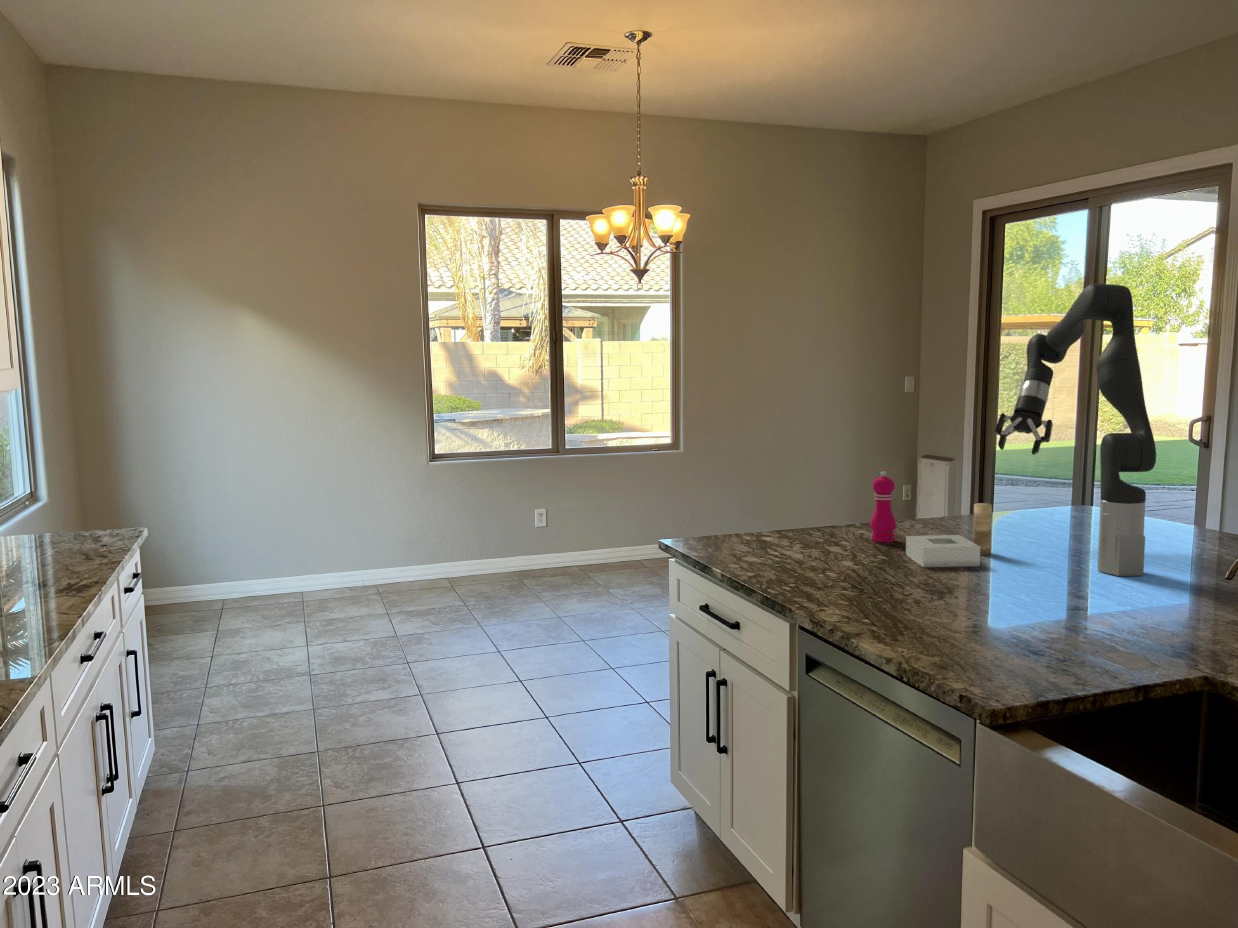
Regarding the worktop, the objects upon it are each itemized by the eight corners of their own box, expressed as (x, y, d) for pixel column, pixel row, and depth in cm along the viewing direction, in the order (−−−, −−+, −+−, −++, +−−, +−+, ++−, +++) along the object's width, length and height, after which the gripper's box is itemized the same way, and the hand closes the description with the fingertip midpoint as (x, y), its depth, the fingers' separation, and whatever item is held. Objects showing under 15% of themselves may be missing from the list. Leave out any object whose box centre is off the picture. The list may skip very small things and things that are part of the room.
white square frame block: (979, 566, 214) (980, 546, 213) (923, 567, 214) (923, 547, 214) (958, 553, 228) (959, 534, 227) (905, 554, 228) (906, 536, 228)
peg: (993, 554, 226) (994, 505, 224) (976, 555, 226) (977, 506, 224) (986, 550, 230) (988, 503, 228) (970, 551, 230) (971, 503, 228)
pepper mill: (893, 537, 249) (893, 469, 247) (898, 543, 242) (899, 472, 240) (867, 537, 250) (868, 469, 248) (872, 543, 243) (873, 473, 241)
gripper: (1003, 391, 247) (988, 442, 244) (1057, 397, 238) (1042, 450, 235) (1008, 402, 253) (993, 452, 250) (1060, 408, 244) (1046, 460, 241)
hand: (1017, 451), depth 242 cm, fingers open, 8 cm apart
